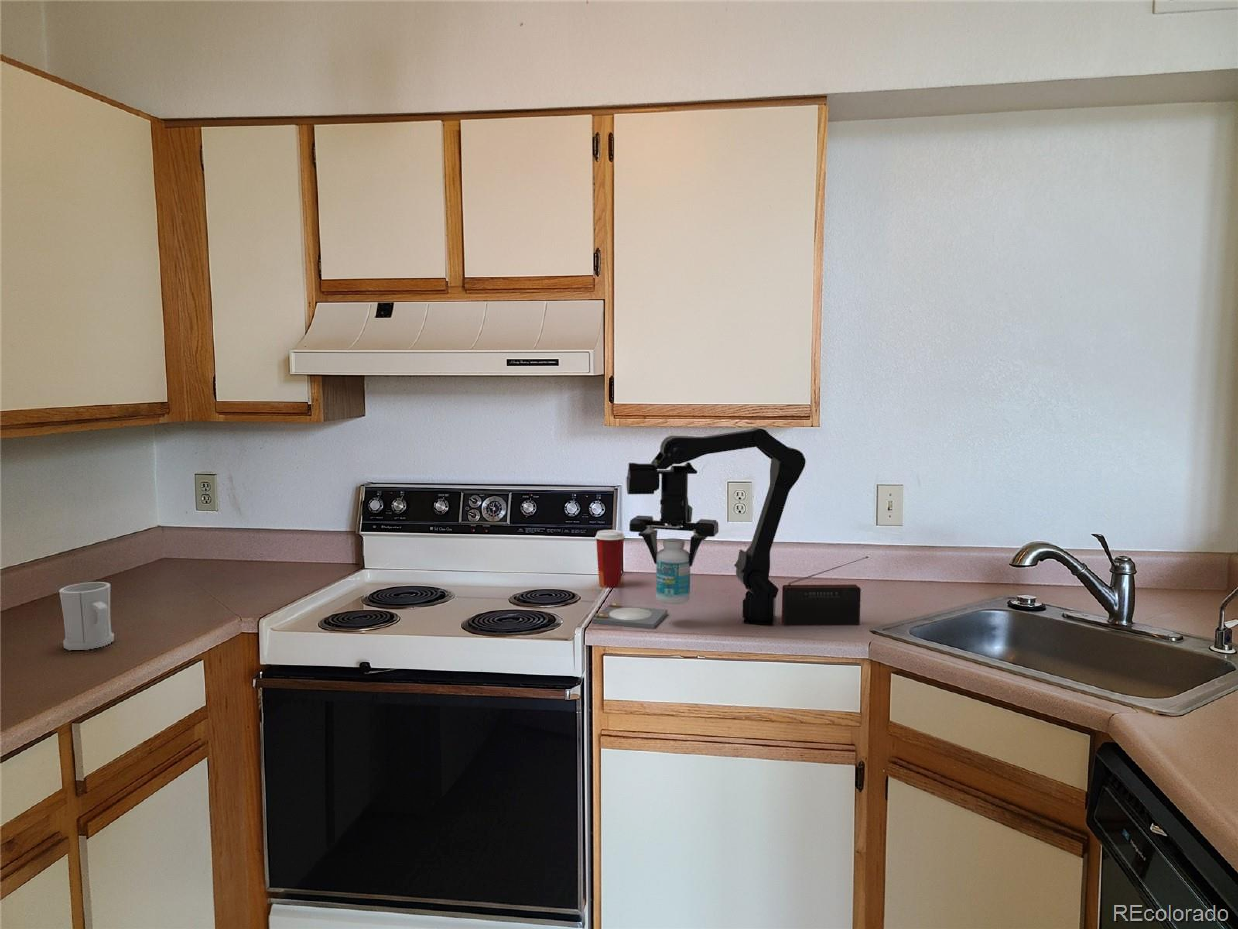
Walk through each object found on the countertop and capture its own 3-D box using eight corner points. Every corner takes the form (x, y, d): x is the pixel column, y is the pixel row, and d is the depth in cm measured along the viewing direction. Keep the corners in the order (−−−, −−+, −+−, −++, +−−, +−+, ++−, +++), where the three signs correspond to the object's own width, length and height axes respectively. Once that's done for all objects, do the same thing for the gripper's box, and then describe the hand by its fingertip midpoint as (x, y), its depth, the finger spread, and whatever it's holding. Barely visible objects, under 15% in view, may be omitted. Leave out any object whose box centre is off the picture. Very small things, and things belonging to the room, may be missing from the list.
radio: (784, 626, 187) (786, 559, 185) (781, 622, 190) (783, 556, 188) (869, 626, 187) (871, 558, 185) (865, 622, 190) (867, 555, 188)
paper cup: (630, 584, 223) (630, 531, 222) (613, 590, 217) (613, 536, 216) (605, 580, 228) (605, 528, 226) (588, 586, 221) (588, 532, 220)
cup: (131, 637, 179) (127, 581, 178) (106, 651, 170) (102, 592, 169) (80, 638, 179) (76, 581, 178) (52, 652, 170) (48, 593, 169)
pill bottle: (648, 600, 189) (649, 539, 187) (673, 594, 193) (673, 535, 192) (672, 607, 183) (673, 545, 181) (696, 601, 188) (697, 540, 186)
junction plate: (667, 613, 196) (667, 606, 196) (653, 628, 185) (653, 620, 185) (609, 608, 200) (609, 601, 200) (592, 623, 189) (592, 615, 189)
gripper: (723, 491, 190) (722, 560, 192) (642, 487, 196) (642, 554, 198) (714, 498, 180) (712, 571, 182) (628, 493, 185) (628, 564, 187)
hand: (673, 564), depth 187 cm, fingers closed on pill bottle, 7 cm apart
